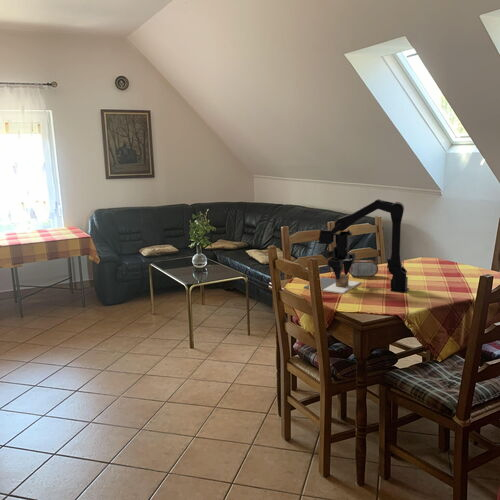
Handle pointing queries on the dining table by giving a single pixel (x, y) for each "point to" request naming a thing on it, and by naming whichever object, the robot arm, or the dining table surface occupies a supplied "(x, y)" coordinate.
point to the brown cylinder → (342, 281)
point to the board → (334, 285)
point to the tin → (363, 268)
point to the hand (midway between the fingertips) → (341, 277)
